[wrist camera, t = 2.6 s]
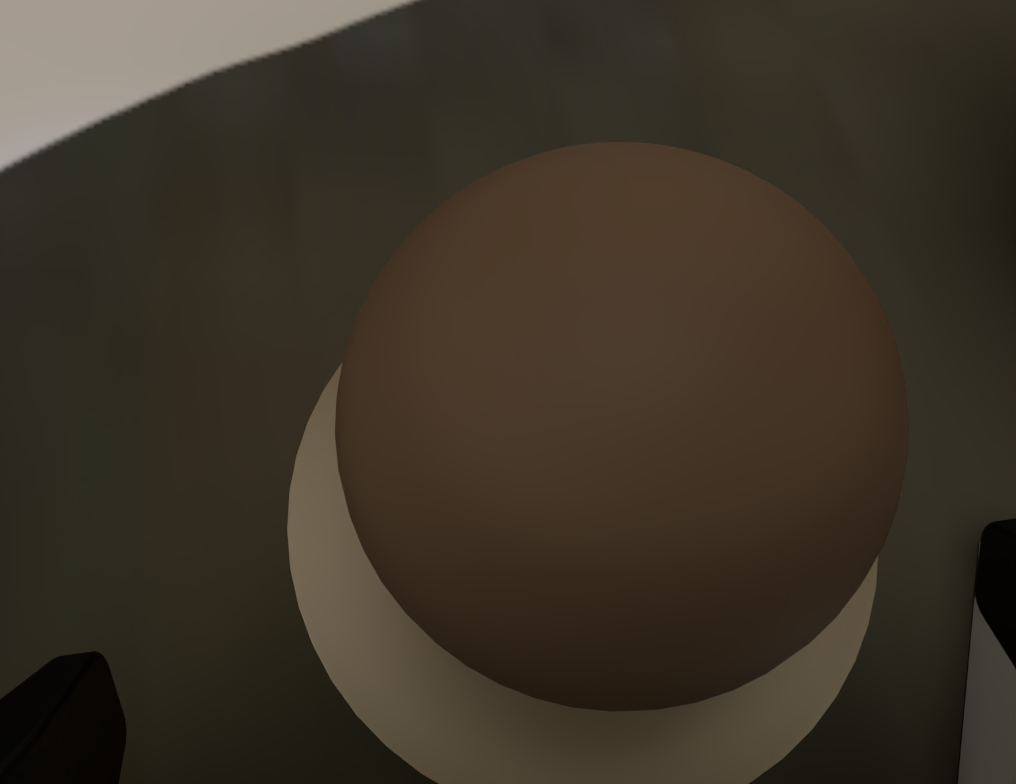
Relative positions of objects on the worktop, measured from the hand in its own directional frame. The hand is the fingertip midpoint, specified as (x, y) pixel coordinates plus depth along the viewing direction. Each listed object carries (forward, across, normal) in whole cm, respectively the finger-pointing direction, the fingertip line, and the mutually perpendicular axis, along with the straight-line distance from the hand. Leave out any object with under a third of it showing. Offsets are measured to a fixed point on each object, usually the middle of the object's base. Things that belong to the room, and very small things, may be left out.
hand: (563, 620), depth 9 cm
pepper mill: (+6, 0, +6) cm, 8 cm away
